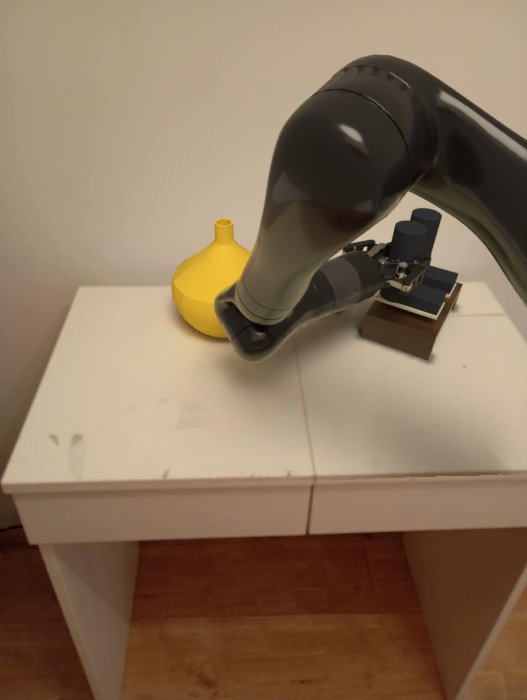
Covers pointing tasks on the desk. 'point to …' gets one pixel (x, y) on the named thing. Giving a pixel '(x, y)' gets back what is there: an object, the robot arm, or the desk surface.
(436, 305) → the dark navy blocky boot
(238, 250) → the vase
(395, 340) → the shoe shelf
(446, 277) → the black boot
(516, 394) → the desk surface
